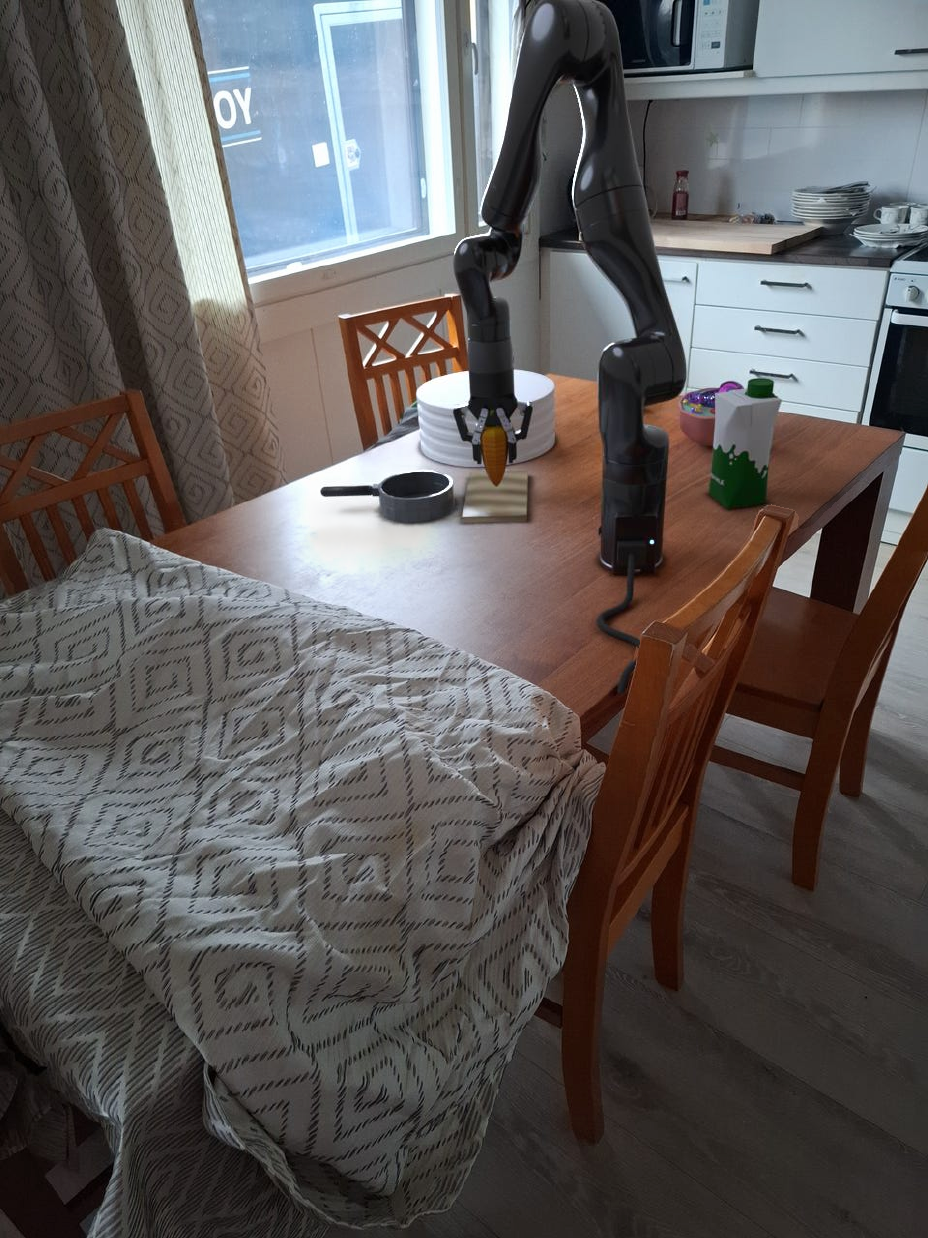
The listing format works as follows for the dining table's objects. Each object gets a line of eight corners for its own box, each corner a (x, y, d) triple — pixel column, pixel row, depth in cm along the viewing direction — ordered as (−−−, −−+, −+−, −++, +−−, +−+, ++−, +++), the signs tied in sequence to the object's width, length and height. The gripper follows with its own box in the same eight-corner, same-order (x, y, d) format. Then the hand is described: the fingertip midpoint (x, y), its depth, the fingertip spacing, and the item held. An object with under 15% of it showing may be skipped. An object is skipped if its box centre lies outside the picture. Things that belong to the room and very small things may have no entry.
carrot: (476, 487, 153) (471, 405, 145) (495, 478, 156) (491, 397, 148) (497, 494, 150) (493, 410, 142) (516, 484, 153) (513, 402, 145)
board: (526, 521, 145) (526, 515, 145) (462, 523, 146) (461, 516, 146) (527, 476, 162) (527, 470, 162) (469, 478, 163) (469, 472, 163)
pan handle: (382, 492, 153) (381, 483, 152) (380, 496, 151) (379, 487, 150) (322, 494, 154) (320, 484, 153) (320, 498, 152) (318, 489, 151)
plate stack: (436, 475, 165) (431, 417, 159) (410, 430, 189) (405, 378, 183) (573, 455, 170) (574, 398, 164) (531, 413, 194) (530, 362, 188)
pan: (451, 522, 147) (449, 498, 144) (375, 524, 148) (372, 500, 146) (457, 491, 158) (455, 468, 156) (386, 494, 159) (384, 471, 157)
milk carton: (773, 504, 145) (789, 386, 134) (724, 512, 143) (736, 394, 133) (747, 485, 152) (760, 372, 142) (700, 492, 151) (709, 379, 140)
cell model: (653, 446, 171) (656, 390, 166) (711, 420, 182) (716, 366, 177) (727, 466, 160) (733, 406, 155) (784, 437, 171) (791, 380, 166)
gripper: (445, 373, 139) (453, 471, 148) (534, 369, 138) (536, 469, 147) (449, 360, 146) (456, 455, 155) (534, 357, 144) (536, 453, 153)
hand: (495, 461), depth 151 cm, fingers closed on carrot, 5 cm apart
